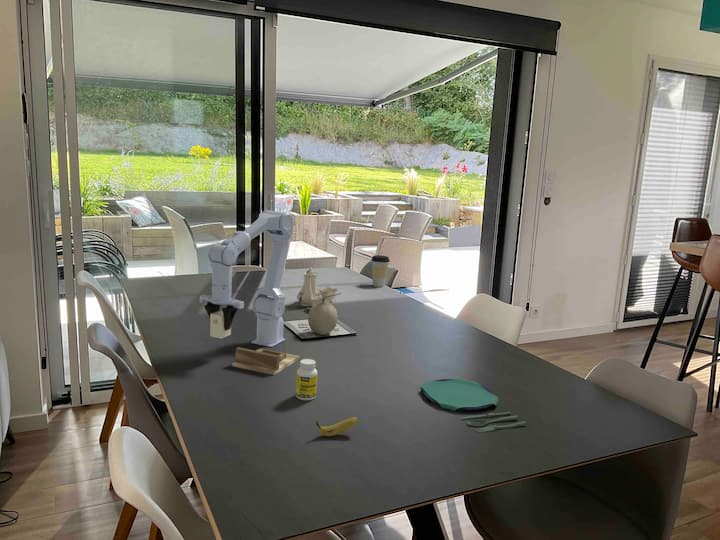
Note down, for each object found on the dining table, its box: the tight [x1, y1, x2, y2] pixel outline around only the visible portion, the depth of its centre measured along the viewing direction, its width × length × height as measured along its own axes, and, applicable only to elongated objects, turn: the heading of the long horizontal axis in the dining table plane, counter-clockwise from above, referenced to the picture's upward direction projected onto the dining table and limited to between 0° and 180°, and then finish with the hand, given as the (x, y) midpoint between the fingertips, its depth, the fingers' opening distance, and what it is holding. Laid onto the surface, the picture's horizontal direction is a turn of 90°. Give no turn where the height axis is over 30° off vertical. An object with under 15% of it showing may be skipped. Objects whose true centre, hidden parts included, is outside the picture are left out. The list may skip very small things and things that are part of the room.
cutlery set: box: [420, 378, 527, 434], centre depth 156 cm, size 20×30×2 cm, turn 20°
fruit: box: [307, 292, 342, 336], centre depth 209 cm, size 10×12×15 cm
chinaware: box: [296, 266, 338, 308], centre depth 251 cm, size 28×17×17 cm, turn 179°
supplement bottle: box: [295, 358, 318, 401], centre depth 154 cm, size 5×5×10 cm
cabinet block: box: [209, 309, 232, 339], centre depth 177 cm, size 6×4×7 cm
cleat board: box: [231, 347, 301, 376], centre depth 178 cm, size 16×14×5 cm
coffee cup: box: [371, 254, 391, 288], centre depth 297 cm, size 9×9×15 cm
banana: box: [315, 416, 359, 437], centre depth 134 cm, size 10×2×4 cm, turn 109°
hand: (221, 328), depth 178 cm, fingers closed on cabinet block, 4 cm apart
